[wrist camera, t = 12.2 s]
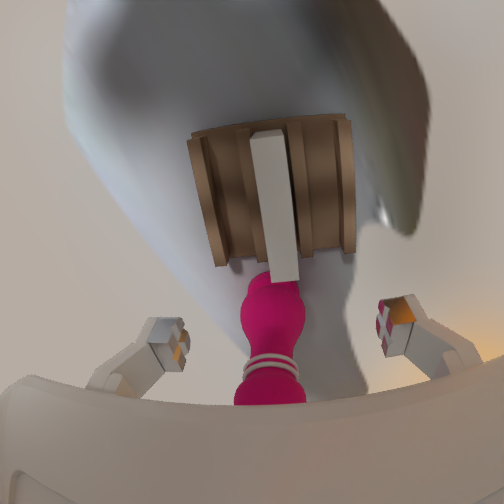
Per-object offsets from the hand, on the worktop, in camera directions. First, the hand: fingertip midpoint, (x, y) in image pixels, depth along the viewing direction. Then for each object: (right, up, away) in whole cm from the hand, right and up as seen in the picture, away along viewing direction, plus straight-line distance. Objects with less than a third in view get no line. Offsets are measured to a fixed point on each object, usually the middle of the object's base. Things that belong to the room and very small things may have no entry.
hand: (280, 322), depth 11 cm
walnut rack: (+1, +9, +18) cm, 20 cm away
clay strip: (+1, +9, +16) cm, 19 cm away
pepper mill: (+2, -2, +24) cm, 24 cm away
